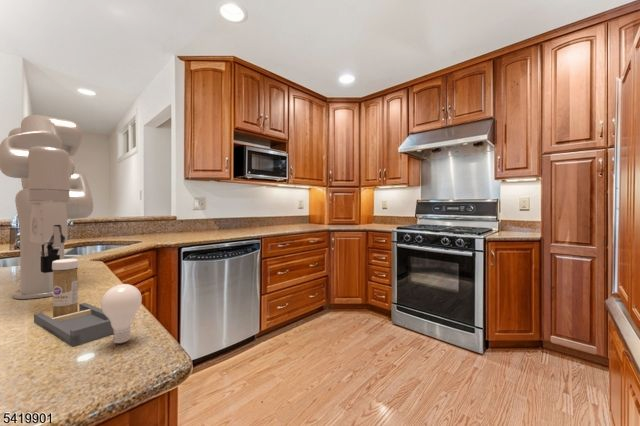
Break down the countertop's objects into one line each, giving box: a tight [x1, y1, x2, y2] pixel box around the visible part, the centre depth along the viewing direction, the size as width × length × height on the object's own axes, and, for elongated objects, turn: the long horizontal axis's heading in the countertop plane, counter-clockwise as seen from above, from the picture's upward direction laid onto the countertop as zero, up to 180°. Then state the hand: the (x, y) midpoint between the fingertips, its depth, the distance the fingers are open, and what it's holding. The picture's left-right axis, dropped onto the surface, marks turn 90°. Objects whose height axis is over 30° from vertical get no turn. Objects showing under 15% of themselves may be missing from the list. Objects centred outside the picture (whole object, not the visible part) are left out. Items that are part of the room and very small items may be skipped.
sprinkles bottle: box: [52, 258, 79, 318], centre depth 67 cm, size 5×5×14 cm
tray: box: [33, 302, 114, 347], centre depth 63 cm, size 22×9×3 cm, turn 58°
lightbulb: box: [100, 283, 143, 345], centre depth 54 cm, size 6×6×11 cm
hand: (50, 271), depth 72 cm, fingers closed
